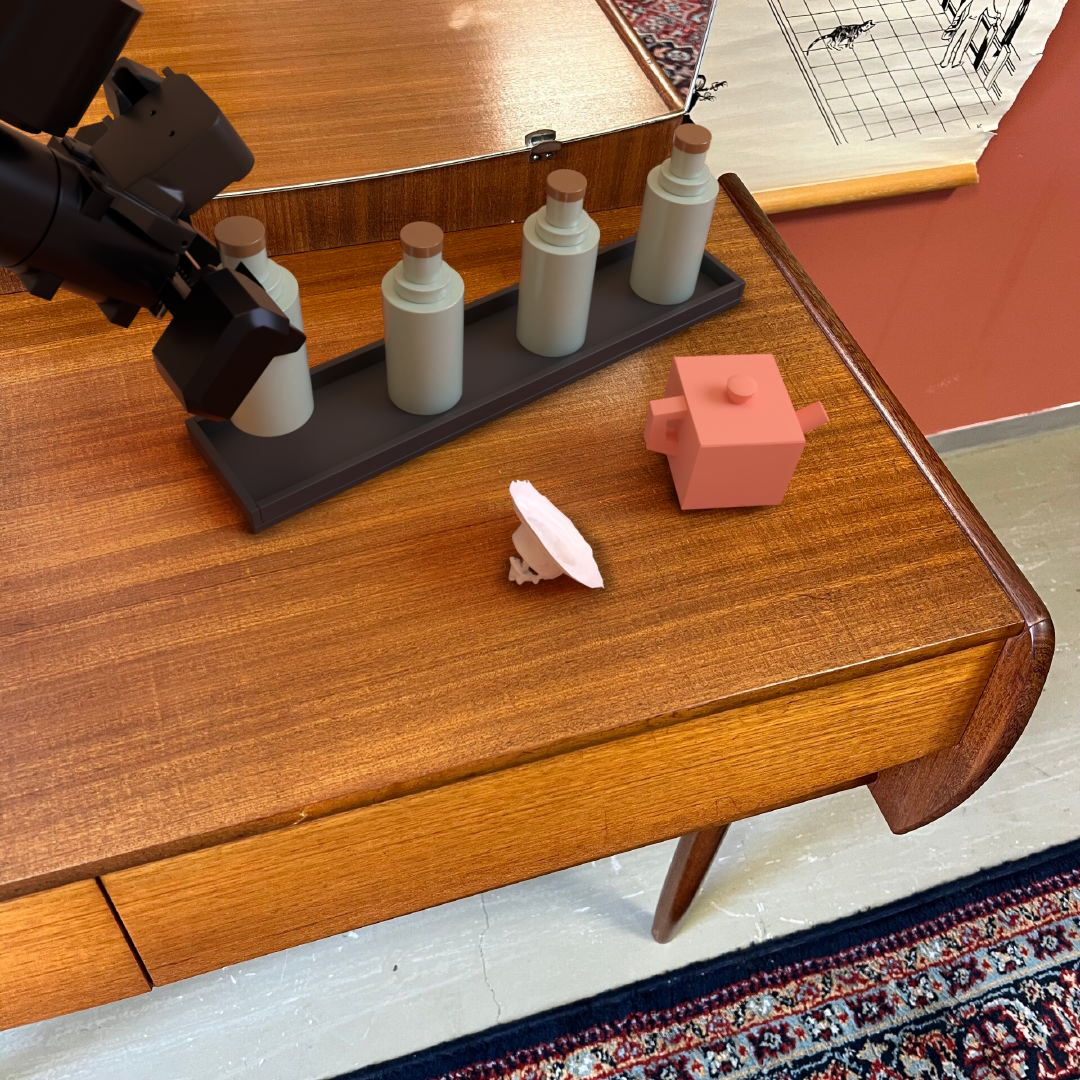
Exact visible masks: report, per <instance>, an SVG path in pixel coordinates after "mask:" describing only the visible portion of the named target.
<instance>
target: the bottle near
mask: <svg viewBox="0 0 1080 1080" xmlns="http://www.w3.org/2000/svg"><path fill="white" fill-rule="evenodd" d="M444 237H445V235H444V232H443V229H442V228H441V227H439V226H438V225H436V224H435V223H432V222H429V221H413V222H410V223H407V224H406V225H404V226H403V227H402V228H401V230H400V232H399V247H400V249H401V251H402V252H401V253H402V254H401V255H402V256H401V257H402V259H401V260H400V261H399V262H397V263H396V264H395V265H394V266H393V267H392V268H390V269H389V270H388V271H387V272H386V273H385V274H384V276H383V278H382V280H381V283H380V290H381V291H380V292H381V309H382V323H383V325H382V326H383V336H384V337H383V338H384V341H385V357H386V372H387V388H388V394H389V397H390V399H391V400H392V402H393V403H394V404H395V405H396V406H397V407H399V408H400V409H402V410H404V411H406V412H408V413H411V414H415V415H435V414H439V413H443V412H445V411H447V410H449V409H451V408H452V407H453V406H454V405H455V404H456V403H457V402H458V401H459V399H460V398H461V395H462V391H463V341H464V305H465V283H464V280H463V278H462V276H461V275H460V274H459V272H457V270H455V269H454V268H452V267H451V266H450V265H449V264H448V263H447V262H446V261H445V260H444V259H443V249H444V244H445V243H444V242H445V241H444Z"/></svg>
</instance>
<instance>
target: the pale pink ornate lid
mask: <svg viewBox="0 0 1080 1080" xmlns="http://www.w3.org/2000/svg"><path fill="white" fill-rule="evenodd" d="M508 488H509V489H508V490H509V494H510V496H511V503H512V508H513V511H514V513H515V514H516V516H517V518H518V519H519V520H520V522H521V523H520V525H519V526H518V527H517V528H516V530H515V531H514V532H513V533H512V535H511V538H512V544H513V545H514V547H515V550H516V552H517V553H518V554H519V556H521V558H522V559H523V560H521V559H520V558H518V557H515V556H510V557H509V561H510V568H509V569H510V570H509V572H508V581H511V582H513V581H515V582H516V584H517V585H518V586H519V585H522V584H523V583H524V582H532V583H533V584H534V585H537V584H538V583H539V582H540V580H542V579H543V580H545V581H546V580H547V581H548V580H554V579H555V578H558V577H559V576H561V575H562V574H565V575H566V576H568V577H570V578H571V579H573V580H574V581H576V582H578V583H581V584H582V585H585V586H586V587H589V588H592V589H594V588H603V589H605V587H604V579H603V578H602V576H601V573H600V570H599V567H598V564H597V562H596V560H595V559H594V557H593V556H594V554H593V548H591V545H590V544H589V543H588V542H587V541H586V540H585V538H584V537H583V535H582V534H581V533H580V532H579V530H578V529H577V528H576V526H575V525H574V523H573V522H572V520H571V519H570V518H569V517H568V516H566V515H565V514H564V513H563V512H562V511H561V510H560V509H558V507H556V506H555V505H554V503H552V502H551V500H549V498H547V497H546V496H545V495H542V494H541V493H540V492H539V491H538V490H537V489H536V488H535V487H534V486H533V484H532V483H531V482H530V481H529V480H526V479H525V480H519V479H516V481H514V480H512V481H511V483H510V485H509V487H508ZM521 561H522V562H521ZM530 568H531V569H532V570H534V571H535V573H537V575H536V574H533V572H532V571H531V570H530Z"/></svg>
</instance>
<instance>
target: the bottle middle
mask: <svg viewBox="0 0 1080 1080" xmlns="http://www.w3.org/2000/svg"><path fill="white" fill-rule="evenodd" d="M587 187H588V181H587V178H586V176H585V175H583V174H582V173H580V172H578V171H577V170H573V169H567V168H565V169H564V168H562V169H556V170H553V171H551V172H549V174H548V175H547V177H546V183H545V191H546V200H545V201H546V202H545V205H542V206H541V207H540V208H539V209H538V210H537V211H535V212H533V213H531V214H530V215H529V216H528V217H527V218H526V219H525V221H524V223H523V226H522V239H521V253H520V268H519V280H518V282H519V293H518V307H517V321H516V336H517V338H518V340H519V342H520V343H521V344H522V345H523V347H525V348H526V349H527V350H529V351H531V352H533V353H535V354H538V355H541V356H546V357H561V356H566V355H569V354H572V353H574V352H575V351H577V350H578V349H579V348H580V347H581V346H582V345H583V343H584V341H585V337H586V331H587V324H588V317H589V310H590V303H591V296H592V289H593V282H594V275H595V268H596V261H597V254H598V249H599V247H600V239H601V231H600V228H599V226H598V224H597V223H596V221H594V219H592V218H591V217H590V216H589V214H588V212H587V211H586V210H585V209H584V208H583V206H584V201H585V200H584V198H585V196H586V194H587V189H588V188H587Z"/></svg>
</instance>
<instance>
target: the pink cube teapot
mask: <svg viewBox="0 0 1080 1080" xmlns="http://www.w3.org/2000/svg"><path fill="white" fill-rule="evenodd" d="M665 385H666V386H665V390H664V394H663V398H660V399H653V400H649V403H648V407H647V408H648V409H647V413H646V419H645V424H644V429H643V438H644V442H645V446H646V450H648V451H652V452H656V453H660V454H663V455H666V457H667V462H668V466H669V469H670V473H671V476H672V480H673V483H674V487H675V491H676V494H677V498H678V502H679V505H680V508H681V510H682V511H684V510H704V509H719V508H722V509H723V508H737V507H738V508H739V507H755V506H756V507H758V506H759V507H760V506H774V505H775V506H777V505H782V503H783V500H784V497H785V495H786V493H787V490H788V488H789V486H790V483H791V481H792V479H793V476H794V473H795V471H796V469H797V467H798V464H799V461H800V459H801V456H802V454H803V451H804V449H805V446H806V444H807V440H806V437H805V434H807V433H808V432H811V431H812V430H815V429H817V428H819V427H821V426H824V425H825V424H827V423H829V422H830V418H829V416H828V414H827V412H826V410H825V407H824V406H823V404H822V403H821V401H820V400H817V401H815V402H813V403H811V404H808V405H806V406H804V407H802V408H800V409H797V410H796V411H795V408H794V405H793V403H792V401H791V398H790V395H789V392H788V390H787V387H786V385H785V382H784V379H783V377H782V374H781V371H780V370H779V367H778V364H777V363H776V360H775V357H774V354H773V353H756V354H751V353H750V354H723V355H722V354H719V355H718V354H717V355H715V354H714V355H693V356H673V357H672V360H671V364H670V369H669V373H668V377H667V382H666V384H665Z"/></svg>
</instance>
